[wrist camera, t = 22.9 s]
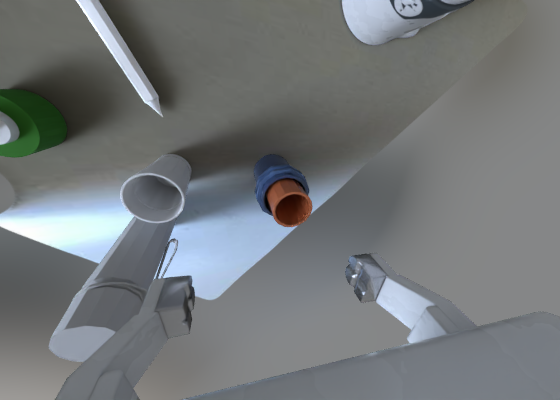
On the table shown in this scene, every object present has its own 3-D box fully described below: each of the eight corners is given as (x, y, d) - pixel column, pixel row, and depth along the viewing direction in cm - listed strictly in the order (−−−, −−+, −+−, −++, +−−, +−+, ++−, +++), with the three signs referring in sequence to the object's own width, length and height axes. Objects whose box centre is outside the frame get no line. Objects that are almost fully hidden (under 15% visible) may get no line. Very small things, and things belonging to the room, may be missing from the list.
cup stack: (266, 147, 40) (278, 166, 30) (296, 165, 44) (316, 189, 34) (246, 178, 43) (252, 207, 33) (276, 193, 46) (290, 224, 36)
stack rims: (272, 154, 33) (275, 159, 31) (313, 179, 37) (318, 185, 35) (245, 197, 36) (246, 204, 33) (287, 216, 40) (290, 223, 37)
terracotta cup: (274, 162, 36) (288, 184, 27) (299, 177, 39) (319, 202, 30) (256, 188, 38) (265, 218, 29) (282, 201, 40) (296, 232, 32)
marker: (165, 117, 35) (85, -5, 26) (173, 113, 34) (94, -14, 25) (154, 122, 33) (64, -7, 24) (162, 118, 32) (73, -17, 24)
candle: (-18, 119, 29) (-119, 131, 21) (9, 75, 28) (-87, 69, 19) (50, 157, 33) (-10, 181, 25) (78, 121, 32) (23, 133, 23)
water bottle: (130, 219, 41) (26, 358, 20) (152, 192, 40) (64, 312, 18) (172, 239, 46) (124, 371, 24) (193, 216, 44) (161, 335, 23)
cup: (193, 150, 38) (181, 173, 28) (197, 188, 41) (187, 221, 31) (145, 148, 36) (112, 172, 26) (154, 189, 40) (128, 224, 29)
